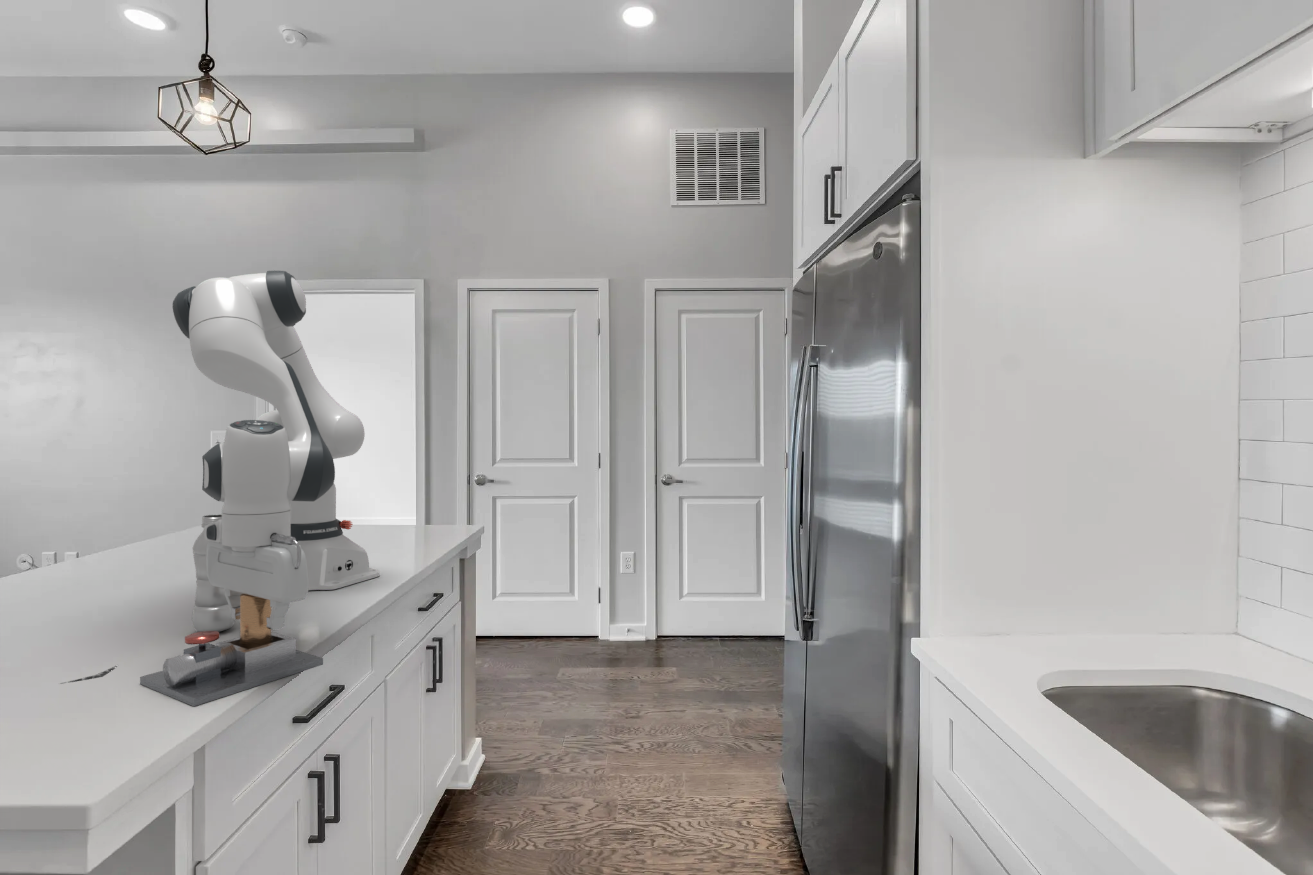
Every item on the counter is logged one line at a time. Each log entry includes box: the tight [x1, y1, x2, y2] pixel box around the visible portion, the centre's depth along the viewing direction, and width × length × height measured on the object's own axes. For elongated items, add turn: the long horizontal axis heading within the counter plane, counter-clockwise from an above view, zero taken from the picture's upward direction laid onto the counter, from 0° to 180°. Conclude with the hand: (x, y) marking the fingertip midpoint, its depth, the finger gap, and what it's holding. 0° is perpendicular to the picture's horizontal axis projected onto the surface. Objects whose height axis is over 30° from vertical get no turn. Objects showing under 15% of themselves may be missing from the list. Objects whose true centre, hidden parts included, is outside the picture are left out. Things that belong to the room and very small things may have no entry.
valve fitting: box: [139, 631, 324, 707], centre depth 99 cm, size 18×14×7 cm
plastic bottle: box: [191, 513, 236, 633], centre depth 118 cm, size 6×7×20 cm
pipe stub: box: [239, 593, 272, 649], centre depth 102 cm, size 4×4×10 cm
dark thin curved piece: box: [59, 665, 118, 685], centre depth 98 cm, size 13×1×5 cm
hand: (256, 623), depth 102 cm, fingers open, 8 cm apart
